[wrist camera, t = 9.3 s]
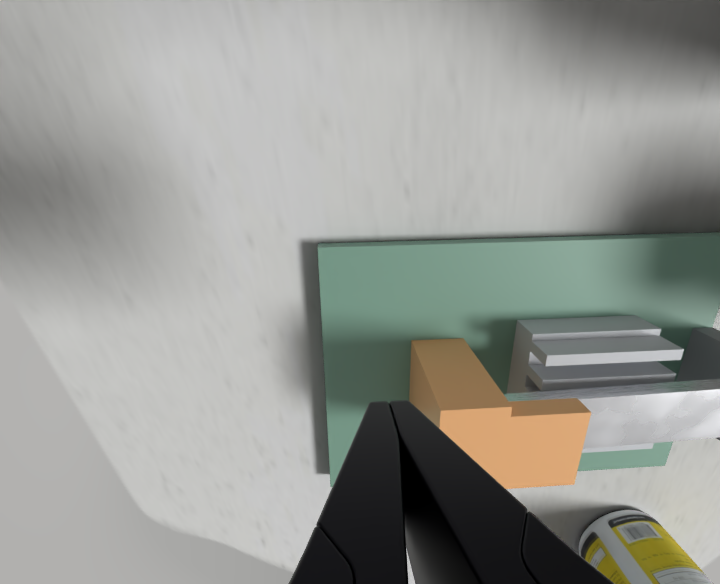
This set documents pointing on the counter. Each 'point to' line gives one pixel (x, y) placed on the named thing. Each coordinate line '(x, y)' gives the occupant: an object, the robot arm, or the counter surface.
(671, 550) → the pill bottle
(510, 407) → the orange stepped block
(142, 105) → the counter surface
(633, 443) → the flat grey bar
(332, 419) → the heatsink board
